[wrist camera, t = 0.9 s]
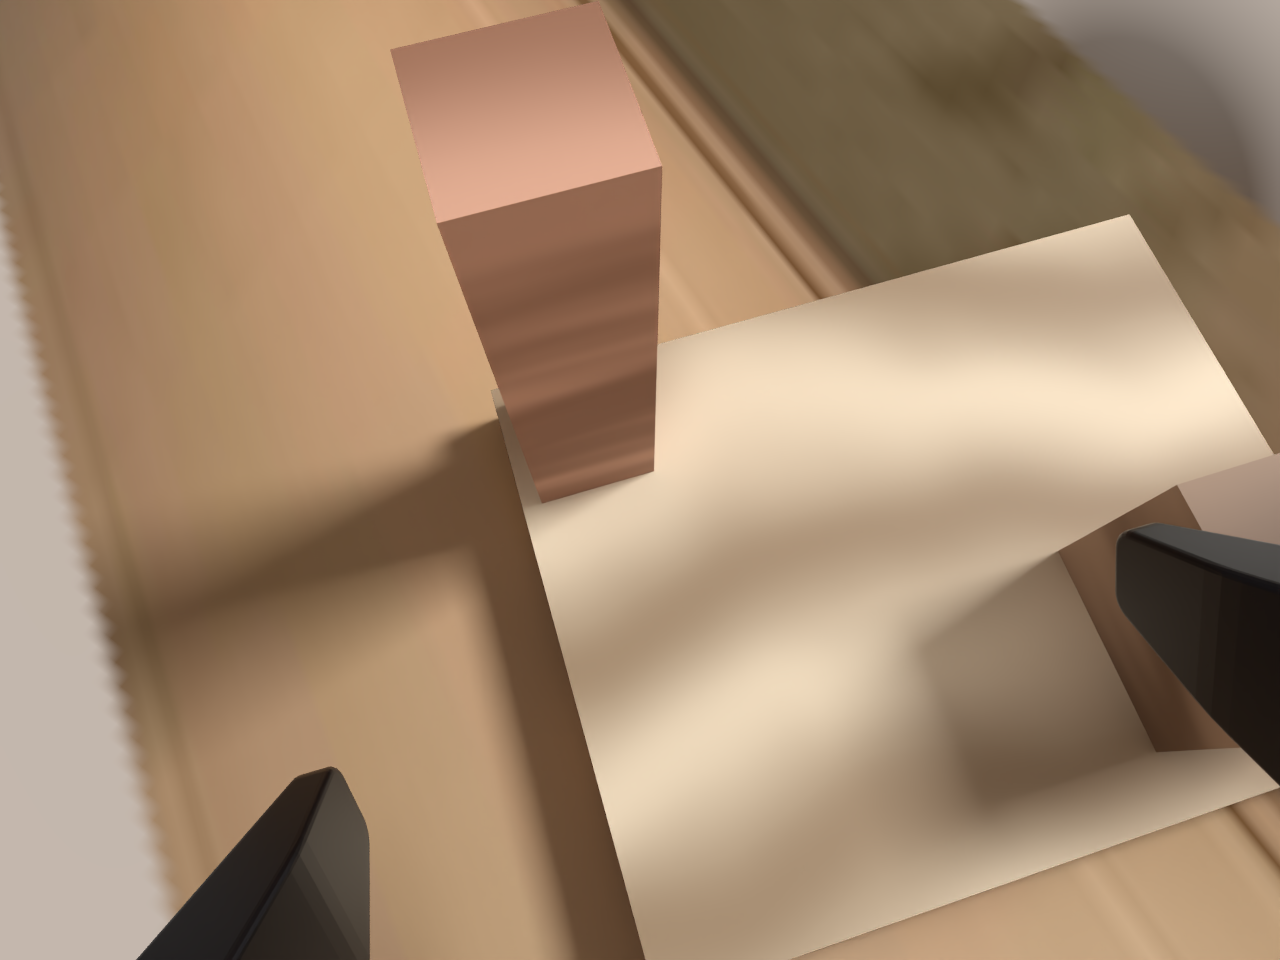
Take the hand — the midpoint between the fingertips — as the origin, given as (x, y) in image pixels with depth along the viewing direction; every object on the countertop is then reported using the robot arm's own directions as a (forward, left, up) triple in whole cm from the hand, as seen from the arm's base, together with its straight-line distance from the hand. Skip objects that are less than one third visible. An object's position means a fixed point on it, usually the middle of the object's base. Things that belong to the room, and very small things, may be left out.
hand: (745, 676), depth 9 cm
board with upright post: (+2, -7, -13) cm, 14 cm away
